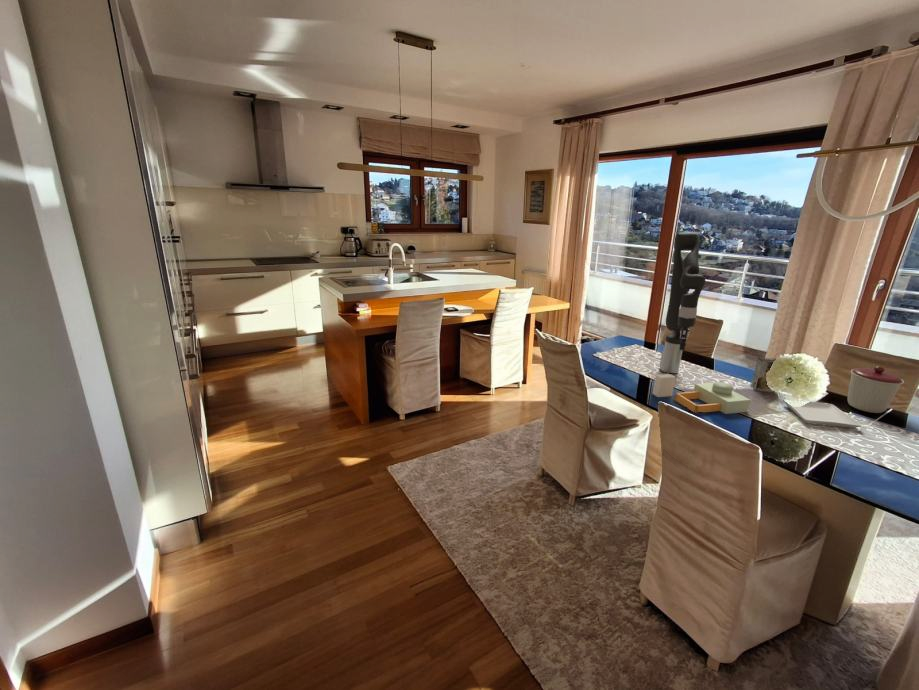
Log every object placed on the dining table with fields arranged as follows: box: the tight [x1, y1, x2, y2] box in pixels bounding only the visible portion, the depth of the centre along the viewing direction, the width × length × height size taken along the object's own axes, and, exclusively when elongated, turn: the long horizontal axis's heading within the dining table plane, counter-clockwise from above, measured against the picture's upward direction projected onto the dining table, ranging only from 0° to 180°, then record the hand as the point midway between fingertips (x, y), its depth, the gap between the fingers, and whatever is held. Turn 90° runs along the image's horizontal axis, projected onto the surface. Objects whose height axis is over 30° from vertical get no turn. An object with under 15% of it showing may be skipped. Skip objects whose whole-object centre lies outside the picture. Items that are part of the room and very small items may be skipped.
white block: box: [652, 373, 677, 398], centre depth 208 cm, size 4×8×10 cm, turn 103°
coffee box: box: [750, 356, 777, 393], centre depth 217 cm, size 9×6×16 cm
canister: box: [847, 365, 905, 414], centre depth 198 cm, size 18×18×21 cm
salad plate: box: [782, 398, 862, 429], centre depth 191 cm, size 21×21×3 cm
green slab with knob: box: [673, 381, 751, 415], centre depth 199 cm, size 20×25×9 cm
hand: (682, 348), depth 211 cm, fingers open, 8 cm apart
